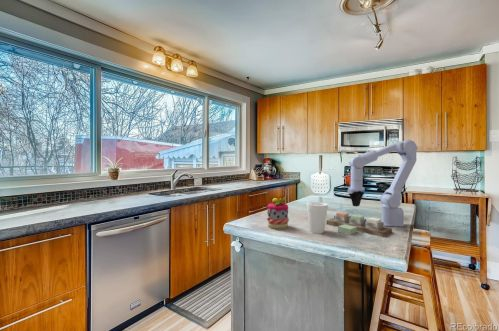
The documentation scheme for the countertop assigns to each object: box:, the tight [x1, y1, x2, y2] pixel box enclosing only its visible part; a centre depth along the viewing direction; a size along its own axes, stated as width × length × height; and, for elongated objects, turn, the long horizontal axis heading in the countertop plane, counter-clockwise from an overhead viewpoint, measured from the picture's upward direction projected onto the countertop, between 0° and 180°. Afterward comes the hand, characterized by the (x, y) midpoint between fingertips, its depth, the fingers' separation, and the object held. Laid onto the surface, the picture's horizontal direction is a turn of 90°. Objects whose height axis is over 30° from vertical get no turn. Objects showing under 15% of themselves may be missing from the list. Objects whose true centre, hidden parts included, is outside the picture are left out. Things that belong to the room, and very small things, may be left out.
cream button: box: [366, 217, 382, 224], centre depth 118 cm, size 4×4×3 cm
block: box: [337, 224, 358, 235], centre depth 118 cm, size 6×6×2 cm
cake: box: [266, 197, 290, 230], centre depth 127 cm, size 10×11×15 cm
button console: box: [326, 215, 393, 238], centre depth 125 cm, size 28×10×4 cm, turn 41°
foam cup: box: [306, 201, 329, 234], centre depth 119 cm, size 10×9×13 cm
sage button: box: [350, 214, 365, 221], centre depth 124 cm, size 4×4×3 cm
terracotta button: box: [335, 211, 350, 218], centre depth 130 cm, size 4×4×3 cm
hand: (356, 206), depth 132 cm, fingers closed
